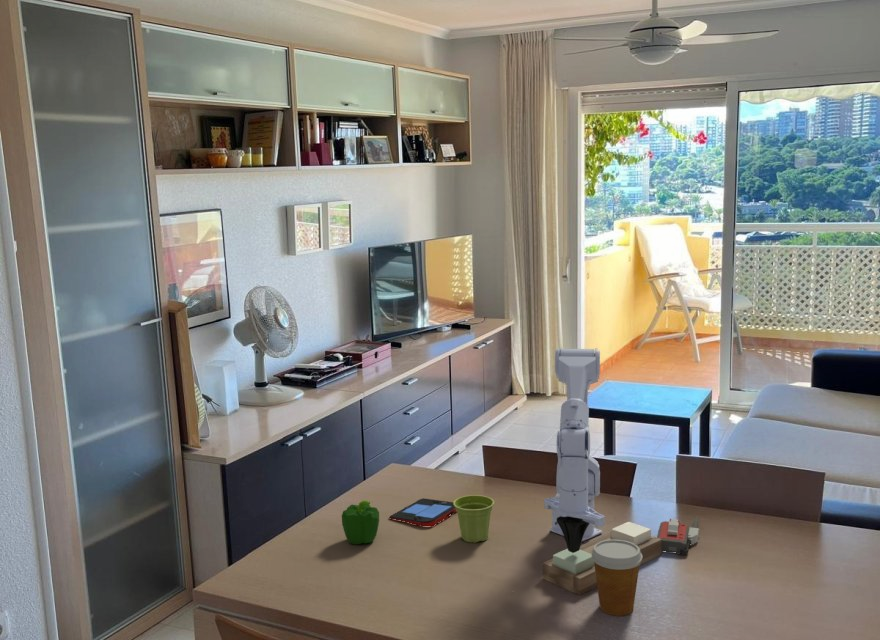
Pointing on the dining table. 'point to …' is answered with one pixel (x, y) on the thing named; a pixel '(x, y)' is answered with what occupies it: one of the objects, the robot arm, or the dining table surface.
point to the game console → (425, 512)
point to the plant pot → (474, 516)
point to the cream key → (631, 533)
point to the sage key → (573, 561)
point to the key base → (588, 577)
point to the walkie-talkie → (677, 535)
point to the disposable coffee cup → (616, 575)
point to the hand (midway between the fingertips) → (573, 550)
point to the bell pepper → (360, 523)
